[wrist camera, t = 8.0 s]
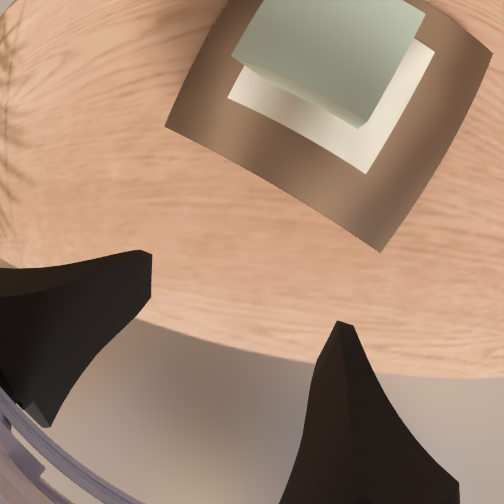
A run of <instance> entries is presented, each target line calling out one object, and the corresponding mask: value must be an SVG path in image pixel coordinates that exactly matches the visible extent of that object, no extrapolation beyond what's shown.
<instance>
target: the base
mask: <svg viewBox="0 0 504 504" xmlns="http://www.w3.org/2000/svg"><path fill="white" fill-rule="evenodd" d="M263 1H264V0H229V1H228V3H227V5H226V6H225V8H224V9H223V11H222V13H221V14H220V16H219V17H218V19H217V21H216V23H215V24H214V26H213V28H212V29H211V31H210V33H209V35H208V36H207V38H206V40H205V42H204V44H203V46H202V47H201V49H200V51H199V53H198V55H197V57H196V59H195V61H194V63H193V65H192V67H191V69H190V71H189V73H188V75H187V77H186V79H185V81H184V83H183V85H182V87H181V89H180V92H179V94H178V96H177V98H176V100H175V103H174V105H173V107H172V110H171V112H170V114H169V117H168V119H167V121H166V124H165V126H164V127H167V128H169V129H171V130H173V131H175V132H177V133H179V134H181V135H183V136H185V137H187V138H189V139H191V140H193V141H195V142H197V143H199V144H201V145H202V146H204V147H206V148H208V149H210V150H212V151H214V152H216V153H218V154H220V155H221V156H223V157H225V158H227V159H229V160H231V161H232V162H234V163H236V164H238V165H240V166H242V167H243V168H245V169H247V170H249V171H250V172H252V173H254V174H256V175H258V176H259V177H261V178H263V179H264V180H266V181H268V182H270V183H271V184H273V185H275V186H276V187H278V188H280V189H282V190H283V191H285V192H287V193H288V194H290V195H292V196H293V197H295V198H297V199H298V200H300V201H301V202H303V203H305V204H306V205H308V206H310V207H311V208H313V209H314V210H316V211H318V212H319V213H321V214H322V215H324V216H325V217H327V218H329V219H330V220H332V221H333V222H335V223H336V224H338V225H339V226H341V227H342V228H344V229H345V230H347V231H349V232H350V233H352V234H353V235H355V236H356V237H358V238H359V239H360V240H362V241H363V242H365V243H366V244H368V245H369V246H371V247H372V248H374V249H375V250H377V251H378V252H379V253H381V251H382V250H383V249H384V247H385V246H386V244H387V243H388V242H389V240H390V239H391V238H392V236H393V235H394V233H395V232H396V231H397V229H398V228H399V226H400V225H401V223H402V222H403V220H404V219H405V218H406V216H407V215H408V213H409V212H410V210H411V209H412V207H413V206H414V204H415V203H416V201H417V200H418V198H419V196H420V195H421V193H422V192H423V190H424V189H425V187H426V185H427V184H428V182H429V181H430V179H431V177H432V176H433V174H434V172H435V171H436V169H437V167H438V166H439V164H440V162H441V161H442V159H443V157H444V155H445V154H446V152H447V150H448V148H449V146H450V145H451V143H452V141H453V139H454V137H455V136H456V134H457V132H458V130H459V128H460V126H461V124H462V122H463V120H464V118H465V116H466V114H467V112H468V110H469V108H470V106H471V104H472V102H473V100H474V98H475V95H476V93H477V91H478V89H479V87H480V84H481V82H482V80H483V77H484V75H485V73H486V70H487V68H488V65H489V63H490V60H491V58H492V55H493V53H492V52H491V51H490V50H489V49H488V48H486V47H485V46H484V45H483V44H482V43H481V42H479V41H478V40H477V39H476V38H475V37H473V36H472V35H471V34H470V33H468V32H467V31H466V30H465V29H463V28H462V27H461V26H459V25H458V24H457V23H455V22H454V21H453V20H451V19H450V18H448V17H447V16H446V15H444V14H443V13H441V12H440V11H438V10H437V9H435V8H434V7H432V6H430V5H429V4H427V3H426V2H424V1H422V0H403V1H405V2H406V3H408V4H410V5H412V6H413V7H415V8H417V9H418V10H420V11H422V12H423V13H425V14H426V15H425V17H424V19H423V21H422V23H421V25H420V27H419V29H418V31H417V33H416V35H415V36H414V38H413V40H412V42H411V44H410V46H409V48H408V50H407V52H406V54H405V55H404V57H403V59H402V61H401V63H400V65H399V67H398V68H397V70H396V72H395V74H394V76H393V78H392V79H391V81H390V83H389V85H388V87H387V88H386V90H385V92H384V94H383V96H382V97H381V99H380V101H379V103H378V104H377V106H376V108H375V110H374V112H373V113H372V115H371V117H370V119H369V120H368V122H367V123H365V124H364V125H362V126H361V127H360V128H358V129H356V128H354V127H353V126H351V125H349V124H348V123H346V122H344V121H343V120H341V119H339V118H338V117H336V116H334V115H332V114H330V113H329V112H327V111H325V110H323V109H321V108H320V107H318V106H316V105H314V104H312V103H310V102H308V101H306V100H304V99H302V98H300V97H298V96H296V95H294V94H292V93H290V92H288V91H286V90H284V89H282V88H280V87H277V86H275V85H273V84H271V83H268V82H267V81H265V80H264V79H263V78H261V77H260V76H259V75H257V74H256V73H255V72H253V71H252V70H250V69H249V68H248V67H246V66H245V65H244V64H242V63H241V62H239V61H238V60H236V59H235V58H233V57H232V56H231V55H232V53H233V51H234V49H235V48H236V46H237V44H238V42H239V40H240V39H241V37H242V35H243V34H244V32H245V30H246V28H247V27H248V25H249V23H250V22H251V20H252V18H253V17H254V15H255V14H256V12H257V10H258V9H259V7H260V6H261V4H262V2H263Z"/></svg>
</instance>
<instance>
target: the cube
mask: <svg viewBox="0 0 504 504" xmlns="http://www.w3.org/2000/svg"><path fill="white" fill-rule="evenodd" d="M425 15H426V14H425V13H423V12H422V11H420V10H418V9H417V8H415V7H413V6H412V5H410V4H408V3H406V2H405V1H403V0H264V1H263V2H262V4H261V6H260V7H259V9H258V10H257V12H256V14H255V15H254V17H253V18H252V20H251V22H250V23H249V25H248V27H247V28H246V30H245V32H244V34H243V35H242V37H241V39H240V40H239V42H238V44H237V46H236V48H235V49H234V51H233V53H232V55H231V56H232V57H233V58H235V59H236V60H238V61H239V62H241V63H242V64H244V65H245V66H246V67H248V68H249V69H250V70H252V71H253V72H255V73H256V74H257V75H259V76H260V77H261V78H263V79H264V80H265V81H267V82H268V83H271V84H273V85H275V86H277V87H280V88H282V89H284V90H286V91H288V92H290V93H292V94H294V95H296V96H298V97H300V98H302V99H304V100H306V101H308V102H310V103H312V104H314V105H316V106H318V107H320V108H321V109H323V110H325V111H327V112H329V113H330V114H332V115H334V116H336V117H338V118H339V119H341V120H343V121H344V122H346V123H348V124H349V125H351V126H353V127H354V128H356V129H358V128H360V127H361V126H362V125H364V124H365V123H367V122H368V120H369V119H370V117H371V115H372V113H373V112H374V110H375V108H376V106H377V104H378V103H379V101H380V99H381V97H382V96H383V94H384V92H385V90H386V88H387V87H388V85H389V83H390V81H391V79H392V78H393V76H394V74H395V72H396V70H397V68H398V67H399V65H400V63H401V61H402V59H403V57H404V55H405V54H406V52H407V50H408V48H409V46H410V44H411V42H412V40H413V38H414V36H415V35H416V33H417V31H418V29H419V27H420V25H421V23H422V21H423V19H424V17H425Z"/></svg>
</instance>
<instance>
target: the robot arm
mask: <svg viewBox="0 0 504 504" xmlns="http://www.w3.org/2000/svg"><path fill="white" fill-rule="evenodd" d="M151 275H152V254H150V253H147V252H145V251H142V250H133V251H128V252H123V253H118V254H113V255H109V256H105V257H100V258H96V259H92V260H87V261H82V262H77V263H72V264H67V265H60V266H53V267H44V268H23V269H11V268H0V504H74V503H72V502H71V501H70V500H68V499H67V498H66V497H64V496H63V495H62V494H61V493H59V492H58V491H57V490H56V489H54V488H53V487H52V486H51V485H50V484H48V483H47V482H46V481H45V480H44V479H43V478H42V477H40V475H41V474H42V473H43V472H44V471H45V467H44V466H43V465H42V464H41V463H40V462H39V461H38V460H37V459H36V458H35V457H34V456H33V455H32V454H31V453H30V452H29V451H28V450H27V449H26V448H25V447H24V446H23V445H22V444H21V443H20V442H19V441H18V440H17V439H16V438H15V437H14V436H13V434H12V433H11V428H12V427H11V424H12V425H13V427H14V428H15V429H16V430H17V431H18V432H19V433H20V434H21V435H22V436H23V437H24V438H25V439H26V440H27V441H28V442H29V443H30V444H31V445H32V446H33V447H34V448H35V449H36V450H37V451H38V452H39V453H40V454H41V455H42V456H43V457H44V458H46V459H47V460H48V461H49V462H50V463H51V464H52V465H53V466H55V467H56V468H57V469H58V470H59V471H60V472H62V473H63V474H64V475H65V476H67V477H68V478H69V479H70V480H72V481H73V482H74V483H76V484H77V485H78V486H80V487H81V488H82V489H84V490H85V491H86V492H88V493H89V494H91V495H92V496H94V497H95V498H97V499H98V500H100V501H101V502H102V503H104V504H144V503H142V502H140V501H139V500H137V499H135V498H133V497H131V496H130V495H128V494H126V493H125V492H123V491H121V490H120V489H118V488H116V487H115V486H113V485H111V484H110V483H108V482H107V481H105V480H104V479H102V478H101V477H99V476H98V475H96V474H95V473H93V472H92V471H91V470H89V469H88V468H86V467H85V466H83V465H82V464H81V463H80V462H78V461H77V460H76V459H74V458H73V457H72V456H71V455H69V454H68V453H67V452H66V451H64V450H63V449H62V448H61V447H60V446H58V445H57V444H56V443H55V442H54V441H53V440H52V439H50V438H49V437H48V436H47V435H46V434H45V433H44V432H43V431H42V430H41V429H40V428H38V427H37V426H36V425H35V424H34V423H33V422H32V421H31V420H30V419H29V418H28V417H27V416H26V415H25V414H24V413H23V412H22V411H21V409H20V408H18V406H17V405H16V403H17V404H18V405H19V406H20V407H21V408H22V409H23V410H25V411H26V412H27V413H28V414H29V415H30V416H31V417H32V418H33V419H34V420H35V421H36V422H37V423H38V424H39V425H40V426H41V427H44V428H49V427H51V425H52V423H53V421H54V419H55V417H56V415H57V413H58V411H59V409H60V407H61V405H62V403H63V402H64V400H65V399H66V397H67V395H68V394H69V392H70V390H71V388H72V387H73V386H74V384H75V383H76V381H77V380H78V378H79V377H80V376H81V374H82V373H83V371H84V370H85V369H86V367H87V366H88V365H89V364H90V362H91V361H92V360H93V359H94V357H95V356H96V355H97V353H99V352H100V351H101V349H102V348H103V347H104V346H105V345H107V344H108V343H109V342H110V341H111V340H112V339H113V338H114V337H115V336H116V335H117V334H118V333H119V332H120V331H121V330H122V329H123V328H124V327H125V326H126V325H127V324H128V323H129V322H130V321H131V320H133V319H134V318H135V317H136V316H137V314H138V313H139V312H140V311H141V310H142V308H143V307H144V306H145V304H146V303H147V302H148V300H149V299H150V298H151ZM279 504H460V493H459V483H458V481H457V480H455V479H454V478H453V477H452V476H451V475H450V474H449V473H448V472H447V471H445V470H444V469H443V468H442V467H441V466H440V465H439V464H438V463H437V462H436V461H435V460H434V459H433V458H432V457H431V456H430V455H429V454H428V453H427V451H426V450H425V449H424V448H423V447H422V446H421V445H420V443H419V442H418V441H417V440H416V439H415V437H414V436H413V435H412V434H411V432H410V431H409V430H408V428H407V427H406V426H405V424H404V423H403V421H402V420H401V419H400V417H399V416H398V414H397V413H396V411H395V409H394V408H393V406H392V405H391V403H390V402H389V400H388V398H387V396H386V395H385V393H384V391H383V389H382V387H381V385H380V383H379V381H378V380H377V378H376V376H375V373H374V371H373V369H372V367H371V365H370V363H369V361H368V359H367V356H366V354H365V352H364V349H363V347H362V345H361V342H360V340H359V338H358V335H357V333H356V331H355V328H354V326H353V325H350V324H347V323H344V322H341V321H337V322H336V324H335V326H334V328H333V330H332V332H331V334H330V336H329V338H328V340H327V342H326V344H325V346H324V348H323V350H322V352H321V354H320V355H319V357H318V359H317V362H316V365H315V369H314V373H313V377H312V381H311V386H310V391H309V398H308V405H307V411H306V418H305V424H304V429H303V435H302V439H301V444H300V448H299V451H298V454H297V457H296V460H295V463H294V466H293V469H292V472H291V475H290V477H289V480H288V483H287V485H286V488H285V491H284V493H283V495H282V498H281V500H280V503H279Z"/></svg>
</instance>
